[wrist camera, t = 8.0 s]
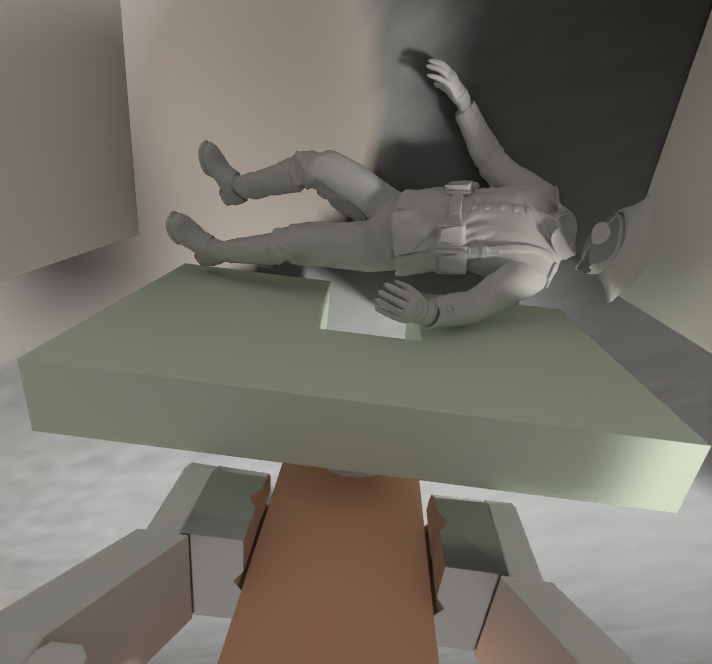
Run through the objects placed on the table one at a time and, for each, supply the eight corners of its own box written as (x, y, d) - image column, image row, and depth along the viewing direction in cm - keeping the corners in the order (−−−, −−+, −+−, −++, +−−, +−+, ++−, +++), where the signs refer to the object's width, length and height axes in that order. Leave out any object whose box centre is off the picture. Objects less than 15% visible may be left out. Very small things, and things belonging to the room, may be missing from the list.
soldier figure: (230, 65, 14) (693, -14, 9) (295, 176, 18) (637, 157, 14) (130, 281, 11) (721, 313, 7) (235, 353, 15) (639, 401, 11)
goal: (40, -230, 11) (-492, -822, 4) (830, -142, 10) (1561, -621, 4) (94, 229, 15) (-128, 288, 8) (657, 298, 15) (874, 413, 8)
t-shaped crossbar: (185, 263, 14) (-326, 553, 4) (559, 309, 14) (1031, 733, 4) (192, 431, 17) (-111, 875, 6) (509, 472, 16) (713, 991, 6)
